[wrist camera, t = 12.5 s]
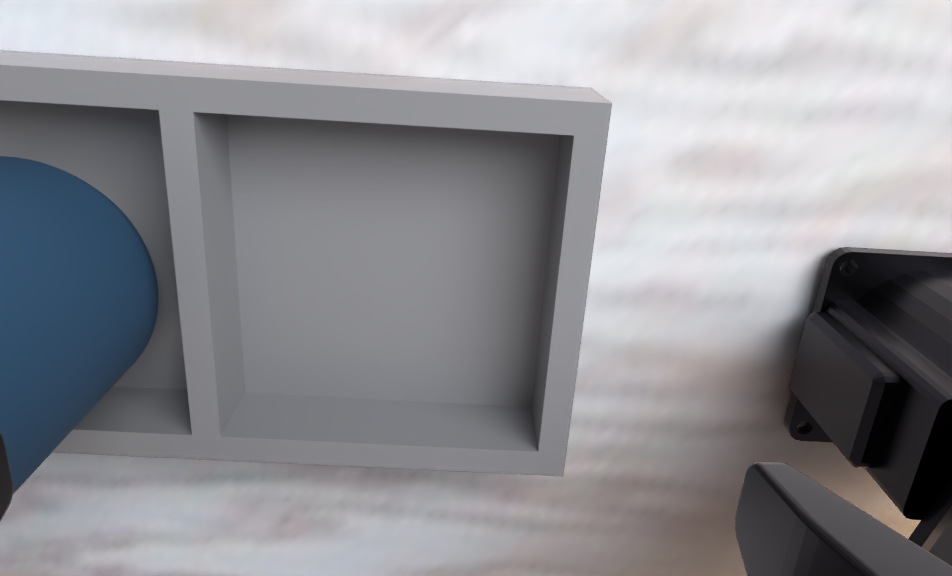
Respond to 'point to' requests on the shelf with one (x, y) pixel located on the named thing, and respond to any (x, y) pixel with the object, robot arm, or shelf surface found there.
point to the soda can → (64, 305)
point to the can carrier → (333, 256)
